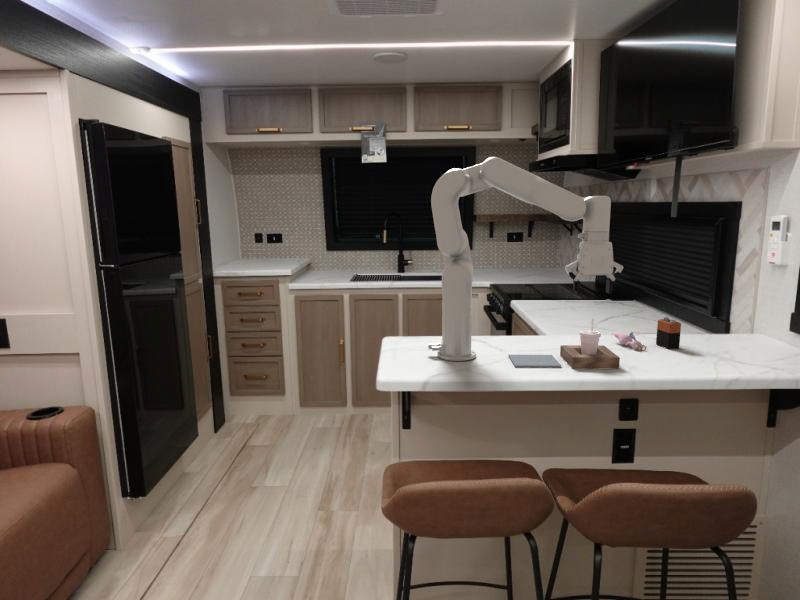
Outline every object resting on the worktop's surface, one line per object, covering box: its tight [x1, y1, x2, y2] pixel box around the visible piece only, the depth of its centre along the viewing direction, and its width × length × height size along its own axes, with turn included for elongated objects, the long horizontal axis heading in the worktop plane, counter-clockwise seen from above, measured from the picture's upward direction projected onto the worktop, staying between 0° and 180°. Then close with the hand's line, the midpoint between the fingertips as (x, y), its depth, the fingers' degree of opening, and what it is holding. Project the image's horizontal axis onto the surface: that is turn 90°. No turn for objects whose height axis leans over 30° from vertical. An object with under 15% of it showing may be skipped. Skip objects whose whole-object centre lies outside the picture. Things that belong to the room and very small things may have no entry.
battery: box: [655, 316, 682, 350], centre depth 183 cm, size 4×7×10 cm, turn 13°
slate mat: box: [508, 354, 562, 368], centre depth 167 cm, size 14×12×1 cm
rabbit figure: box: [611, 331, 647, 352], centre depth 185 cm, size 6×6×15 cm
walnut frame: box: [559, 344, 621, 370], centre depth 166 cm, size 14×14×4 cm
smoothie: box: [578, 317, 602, 355], centre depth 165 cm, size 6×6×14 cm
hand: (592, 293), depth 163 cm, fingers open, 9 cm apart
